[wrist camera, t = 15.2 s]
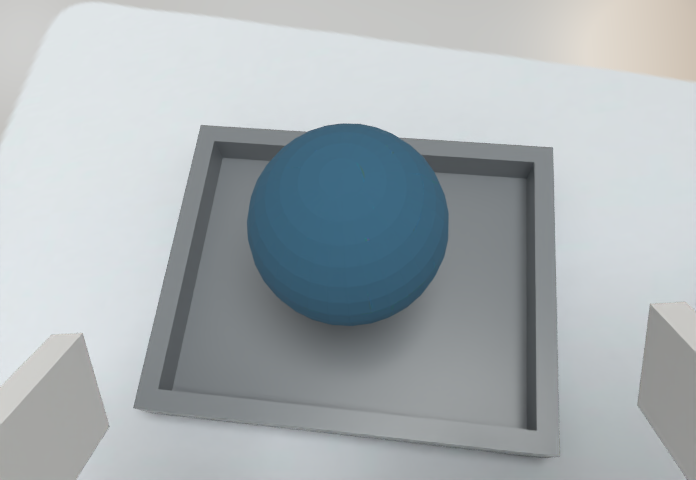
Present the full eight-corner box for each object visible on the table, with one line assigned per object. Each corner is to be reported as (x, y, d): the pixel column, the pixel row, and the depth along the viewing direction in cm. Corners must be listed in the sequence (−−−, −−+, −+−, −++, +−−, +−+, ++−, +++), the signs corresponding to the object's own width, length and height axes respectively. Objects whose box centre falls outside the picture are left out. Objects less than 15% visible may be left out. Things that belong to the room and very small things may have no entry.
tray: (541, 169, 34) (552, 147, 32) (545, 457, 28) (559, 456, 26) (212, 147, 36) (200, 125, 34) (152, 413, 30) (133, 408, 28)
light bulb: (254, 328, 31) (182, 243, 20) (314, 195, 34) (280, 56, 23) (403, 384, 29) (416, 327, 18) (453, 240, 32) (490, 114, 21)
